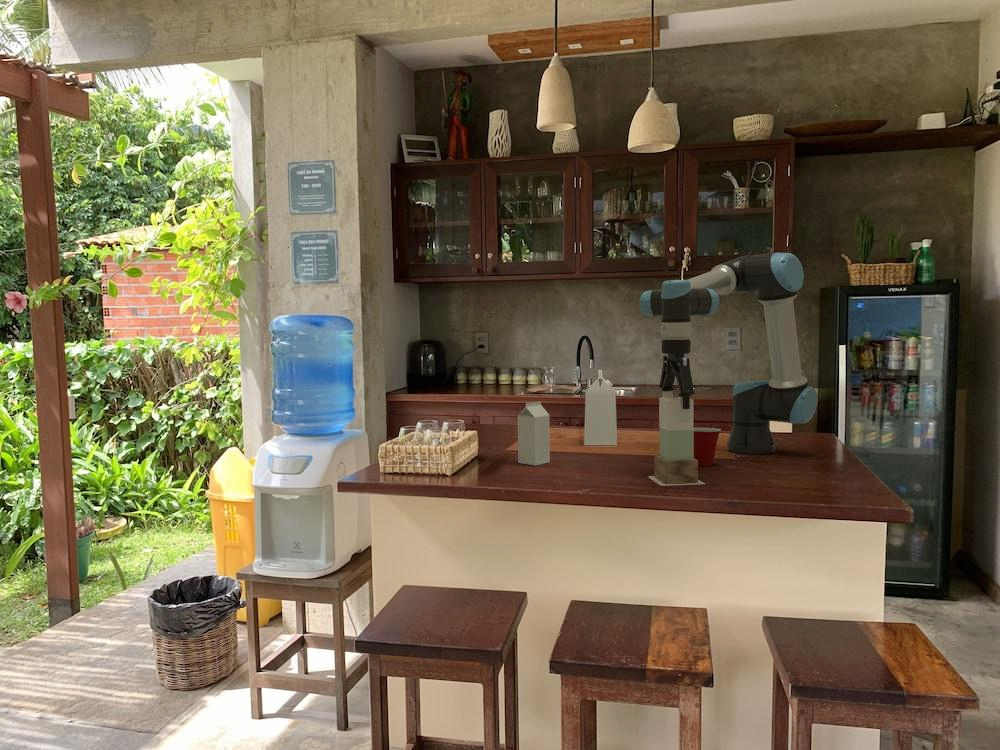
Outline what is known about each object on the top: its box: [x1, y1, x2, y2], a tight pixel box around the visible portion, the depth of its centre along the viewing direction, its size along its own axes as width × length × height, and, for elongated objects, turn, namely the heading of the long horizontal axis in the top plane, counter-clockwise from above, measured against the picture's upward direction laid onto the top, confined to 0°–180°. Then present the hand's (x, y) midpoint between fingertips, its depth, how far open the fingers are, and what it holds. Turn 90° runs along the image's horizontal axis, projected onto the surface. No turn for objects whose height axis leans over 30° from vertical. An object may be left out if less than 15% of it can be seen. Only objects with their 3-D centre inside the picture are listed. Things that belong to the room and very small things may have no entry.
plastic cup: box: [693, 427, 722, 467], centre depth 227 cm, size 11×11×12 cm
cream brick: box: [658, 396, 695, 431], centre depth 205 cm, size 7×7×8 cm
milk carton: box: [517, 401, 551, 466], centre depth 238 cm, size 7×7×19 cm
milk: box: [583, 369, 618, 446], centre depth 272 cm, size 12×12×26 cm
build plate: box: [647, 475, 706, 487], centre depth 206 cm, size 12×12×1 cm
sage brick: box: [659, 427, 694, 461], centre depth 206 cm, size 7×7×8 cm
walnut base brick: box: [653, 454, 699, 484], centre depth 206 cm, size 9×9×6 cm
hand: (675, 418), depth 205 cm, fingers open, 13 cm apart
